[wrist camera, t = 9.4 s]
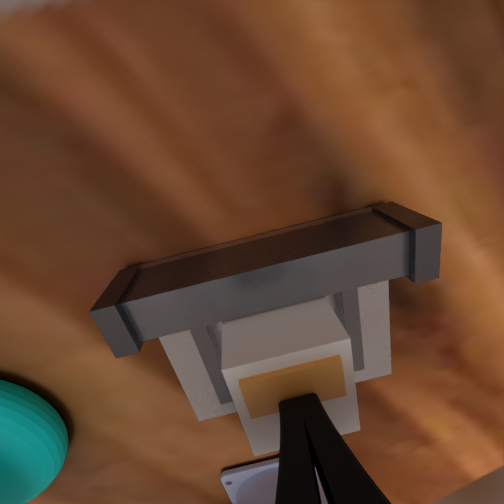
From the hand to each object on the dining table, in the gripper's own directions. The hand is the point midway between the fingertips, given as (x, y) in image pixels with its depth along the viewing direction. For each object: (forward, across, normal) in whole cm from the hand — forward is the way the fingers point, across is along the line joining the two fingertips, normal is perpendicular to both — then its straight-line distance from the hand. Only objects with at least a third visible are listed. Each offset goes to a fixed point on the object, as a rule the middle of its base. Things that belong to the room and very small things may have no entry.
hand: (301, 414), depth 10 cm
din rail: (+7, 0, +1) cm, 7 cm away
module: (+6, 0, 0) cm, 6 cm away
